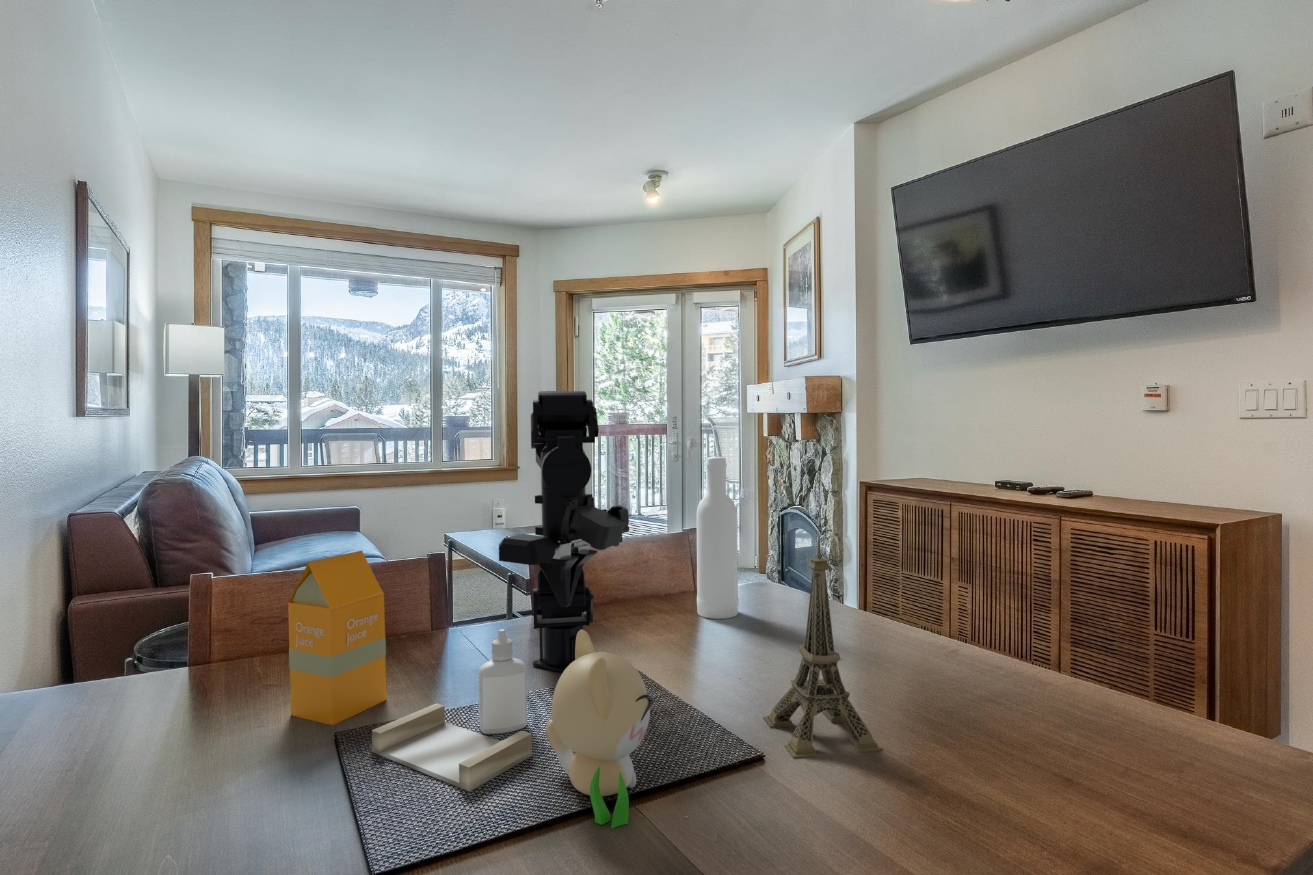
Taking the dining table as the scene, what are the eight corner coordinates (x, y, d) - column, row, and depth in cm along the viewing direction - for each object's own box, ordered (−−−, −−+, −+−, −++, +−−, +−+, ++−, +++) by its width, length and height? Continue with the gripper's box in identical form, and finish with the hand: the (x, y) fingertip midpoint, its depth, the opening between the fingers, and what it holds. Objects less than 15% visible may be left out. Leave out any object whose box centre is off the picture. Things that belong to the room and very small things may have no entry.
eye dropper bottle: (519, 737, 84) (517, 636, 83) (474, 734, 85) (472, 634, 84) (531, 721, 88) (530, 625, 88) (488, 718, 89) (487, 624, 89)
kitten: (673, 821, 66) (671, 661, 66) (566, 840, 63) (563, 673, 63) (632, 749, 80) (631, 618, 80) (544, 762, 77) (542, 626, 77)
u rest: (372, 751, 80) (371, 730, 80) (436, 723, 88) (436, 703, 88) (469, 791, 71) (468, 767, 71) (531, 755, 79) (531, 733, 79)
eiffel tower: (882, 750, 80) (882, 529, 79) (793, 758, 78) (791, 532, 77) (843, 712, 90) (842, 516, 89) (763, 719, 88) (761, 519, 88)
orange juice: (387, 699, 95) (384, 552, 95) (332, 725, 87) (329, 564, 87) (345, 690, 99) (342, 548, 98) (289, 715, 91) (285, 560, 90)
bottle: (694, 618, 132) (693, 458, 132) (699, 607, 140) (697, 456, 139) (737, 620, 131) (736, 458, 130) (739, 608, 139) (738, 456, 138)
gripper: (565, 497, 80) (567, 634, 81) (654, 483, 96) (655, 598, 96) (494, 492, 86) (496, 620, 87) (588, 480, 102) (590, 588, 102)
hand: (565, 605), depth 93 cm, fingers closed
